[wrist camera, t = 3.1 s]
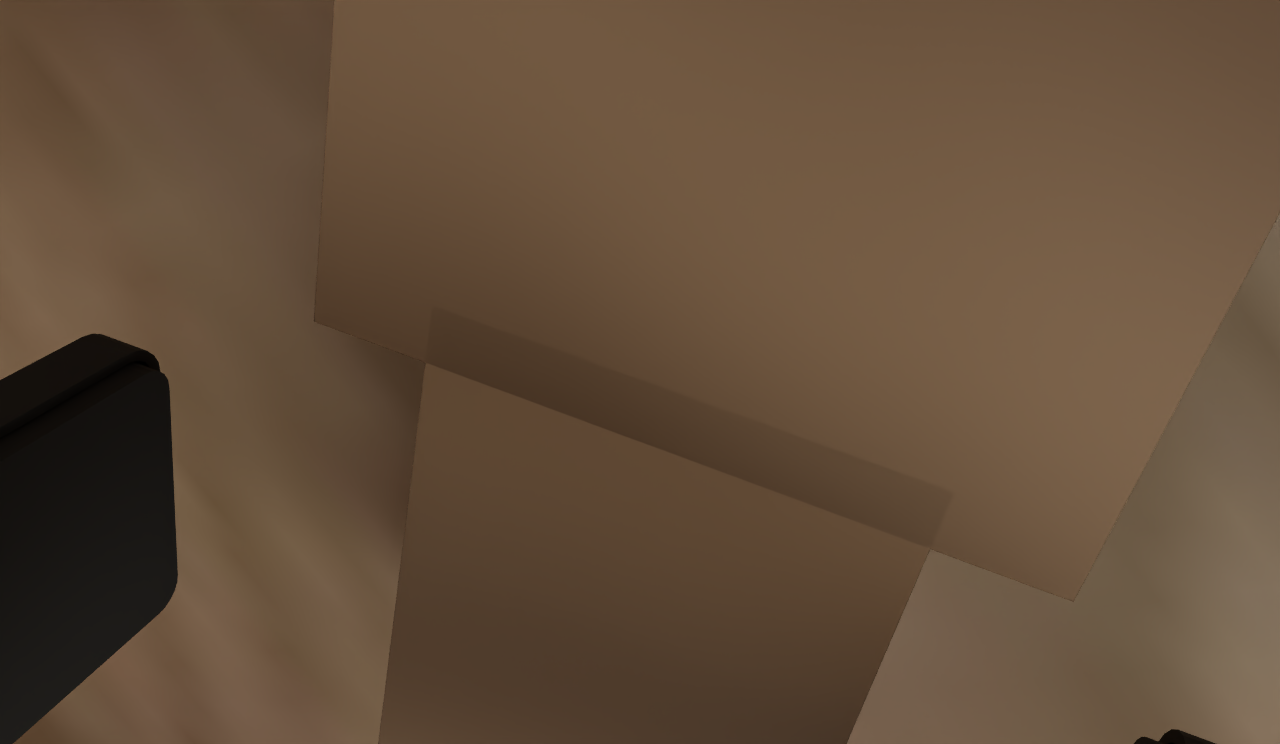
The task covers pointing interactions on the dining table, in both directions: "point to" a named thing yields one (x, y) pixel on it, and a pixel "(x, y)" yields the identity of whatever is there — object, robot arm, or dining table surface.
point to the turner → (768, 325)
